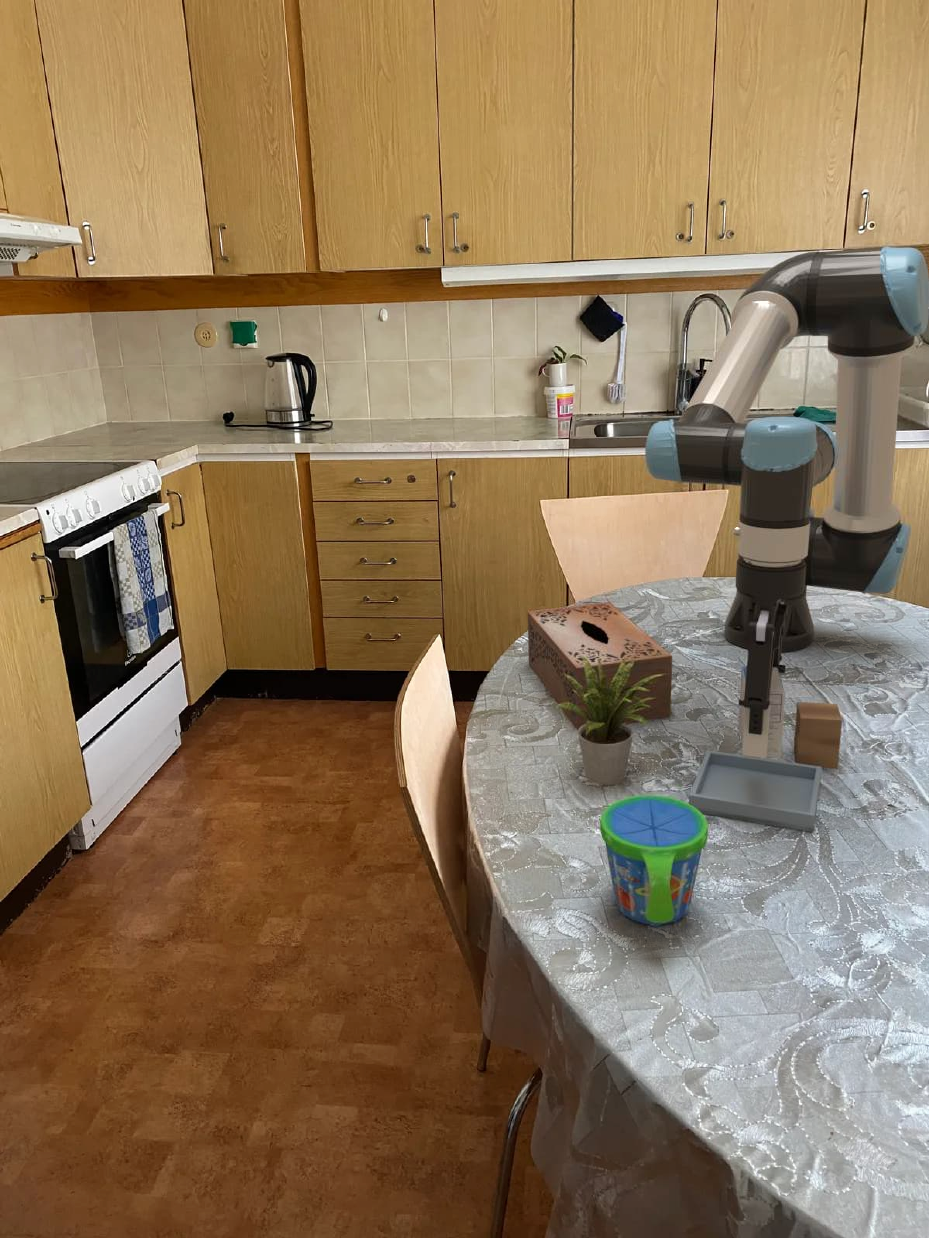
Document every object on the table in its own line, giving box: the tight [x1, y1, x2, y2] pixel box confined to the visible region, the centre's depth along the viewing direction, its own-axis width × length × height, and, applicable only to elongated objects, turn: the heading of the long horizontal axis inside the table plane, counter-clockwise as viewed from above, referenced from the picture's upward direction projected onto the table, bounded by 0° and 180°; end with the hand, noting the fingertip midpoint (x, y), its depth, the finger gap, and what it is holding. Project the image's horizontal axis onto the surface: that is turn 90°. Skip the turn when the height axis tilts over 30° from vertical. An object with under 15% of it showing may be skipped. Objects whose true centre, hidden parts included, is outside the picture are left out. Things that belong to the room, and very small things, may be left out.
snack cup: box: [599, 794, 709, 927], centre depth 95 cm, size 16×10×10 cm
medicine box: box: [738, 666, 786, 760], centre depth 112 cm, size 8×4×9 cm, turn 168°
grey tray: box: [688, 749, 823, 833], centre depth 116 cm, size 12×14×2 cm
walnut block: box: [792, 701, 843, 770], centre depth 124 cm, size 5×5×7 cm
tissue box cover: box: [527, 601, 673, 731], centre depth 147 cm, size 26×14×10 cm, turn 12°
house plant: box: [556, 657, 668, 786], centre depth 119 cm, size 14×14×16 cm
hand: (759, 738), depth 114 cm, fingers closed on medicine box, 8 cm apart
